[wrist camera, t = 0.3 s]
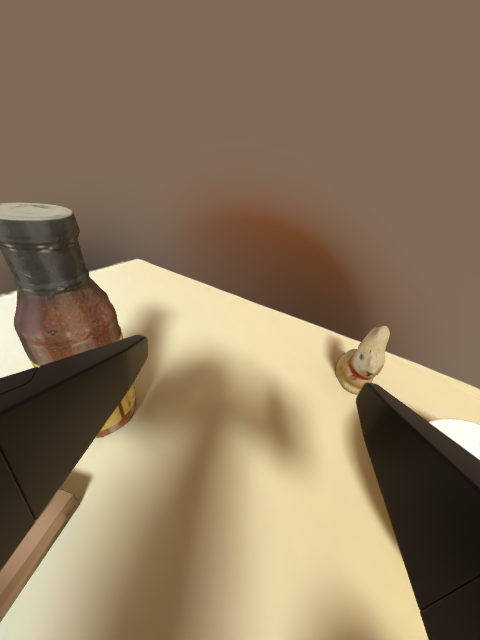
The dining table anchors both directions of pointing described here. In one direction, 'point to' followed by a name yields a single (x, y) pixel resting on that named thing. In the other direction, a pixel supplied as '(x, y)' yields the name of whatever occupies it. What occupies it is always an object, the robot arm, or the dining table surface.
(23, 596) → the dining table surface
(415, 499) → the robot arm
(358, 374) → the chocolate bunny
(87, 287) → the sauce bottle
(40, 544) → the walnut holder
